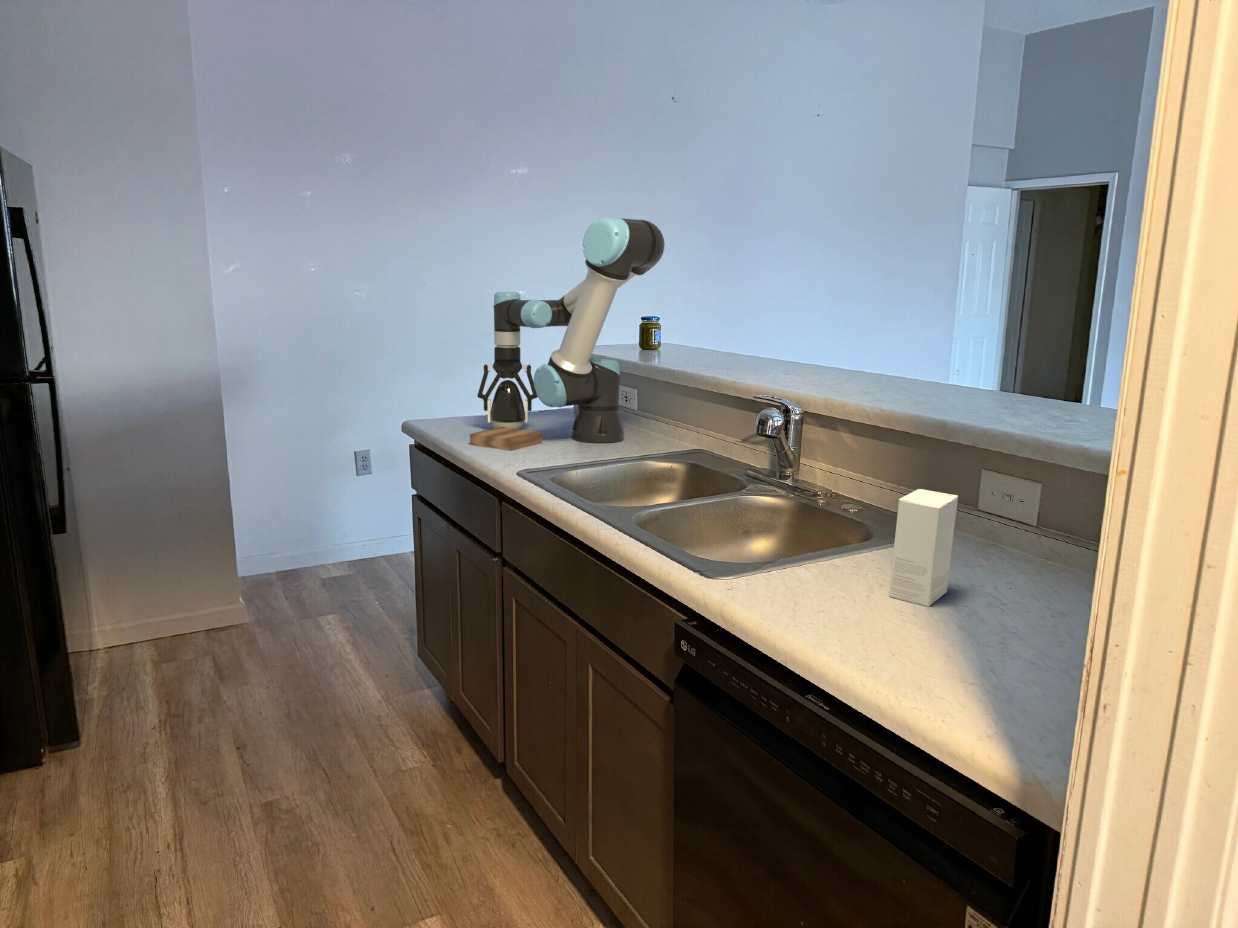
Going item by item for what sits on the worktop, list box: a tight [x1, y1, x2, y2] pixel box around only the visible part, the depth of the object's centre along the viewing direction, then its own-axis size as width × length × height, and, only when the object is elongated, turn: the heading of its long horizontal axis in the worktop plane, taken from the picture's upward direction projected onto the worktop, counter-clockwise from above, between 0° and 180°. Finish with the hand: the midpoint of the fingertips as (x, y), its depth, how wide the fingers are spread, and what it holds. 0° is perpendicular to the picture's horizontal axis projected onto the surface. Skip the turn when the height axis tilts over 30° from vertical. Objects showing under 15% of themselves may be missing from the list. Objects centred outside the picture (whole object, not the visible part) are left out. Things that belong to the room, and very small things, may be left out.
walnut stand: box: [469, 427, 543, 451], centre depth 245 cm, size 14×14×3 cm
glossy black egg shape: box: [490, 379, 525, 429], centre depth 261 cm, size 10×10×15 cm
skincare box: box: [888, 488, 959, 607], centre depth 134 cm, size 8×7×16 cm
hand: (507, 422), depth 263 cm, fingers closed on glossy black egg shape, 10 cm apart
